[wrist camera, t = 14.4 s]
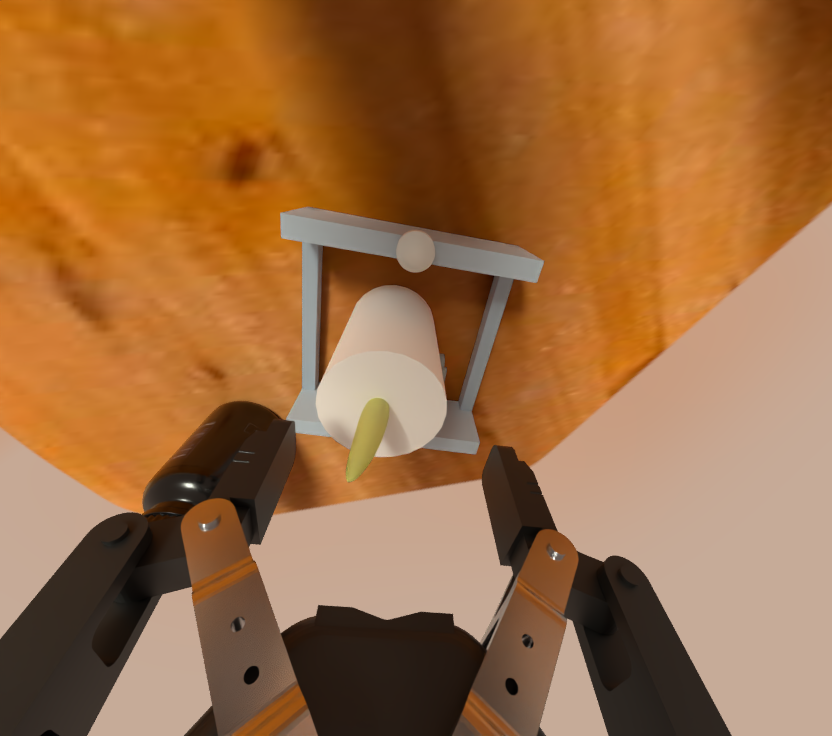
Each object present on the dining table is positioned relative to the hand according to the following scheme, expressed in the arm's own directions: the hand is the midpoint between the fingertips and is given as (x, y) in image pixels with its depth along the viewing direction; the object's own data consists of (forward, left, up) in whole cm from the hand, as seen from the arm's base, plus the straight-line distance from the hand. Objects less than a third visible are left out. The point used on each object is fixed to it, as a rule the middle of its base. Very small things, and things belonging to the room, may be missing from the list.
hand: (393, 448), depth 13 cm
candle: (0, -1, -14) cm, 14 cm away
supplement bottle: (+12, -12, -14) cm, 22 cm away
